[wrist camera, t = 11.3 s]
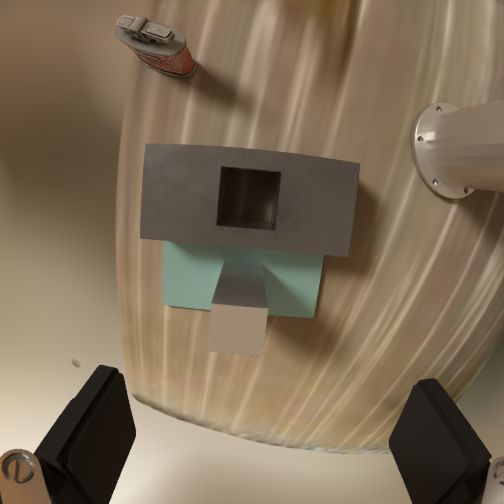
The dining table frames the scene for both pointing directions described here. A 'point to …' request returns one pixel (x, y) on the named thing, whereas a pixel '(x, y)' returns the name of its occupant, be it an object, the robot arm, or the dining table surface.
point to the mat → (213, 256)
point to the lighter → (157, 46)
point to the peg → (239, 310)
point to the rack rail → (239, 230)
